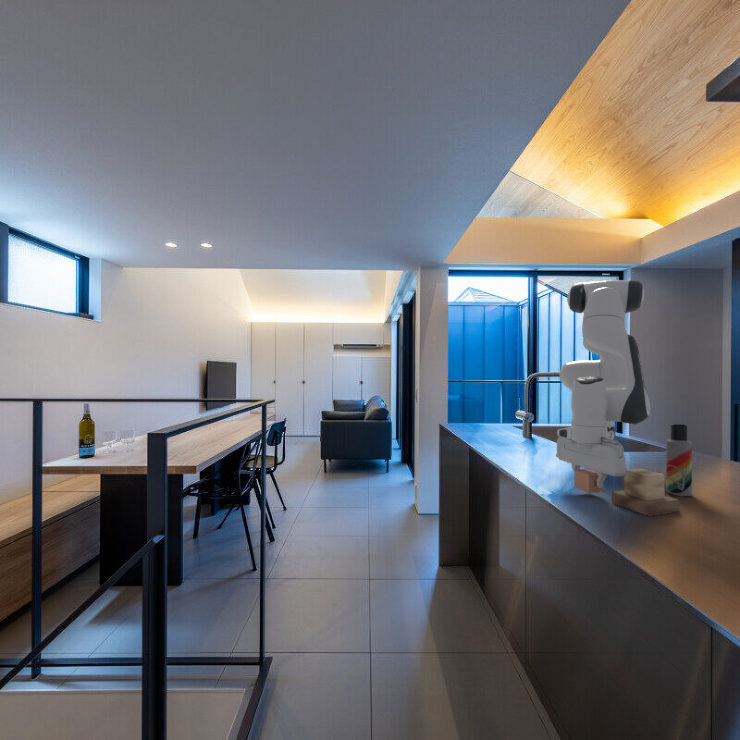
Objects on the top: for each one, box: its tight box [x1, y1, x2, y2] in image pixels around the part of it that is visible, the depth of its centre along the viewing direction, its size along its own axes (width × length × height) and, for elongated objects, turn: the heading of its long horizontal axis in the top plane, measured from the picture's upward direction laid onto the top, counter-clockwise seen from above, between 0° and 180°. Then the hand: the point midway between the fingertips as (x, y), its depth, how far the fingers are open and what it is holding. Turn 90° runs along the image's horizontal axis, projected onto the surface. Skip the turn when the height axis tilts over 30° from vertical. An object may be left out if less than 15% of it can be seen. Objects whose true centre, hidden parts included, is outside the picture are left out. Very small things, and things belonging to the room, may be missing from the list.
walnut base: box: [611, 489, 680, 517], centre depth 98 cm, size 10×10×3 cm
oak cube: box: [623, 468, 665, 500], centre depth 99 cm, size 6×6×6 cm
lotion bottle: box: [665, 423, 693, 497], centre depth 109 cm, size 6×6×20 cm
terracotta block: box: [573, 468, 604, 494], centre depth 108 cm, size 5×5×5 cm
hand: (588, 483), depth 108 cm, fingers closed on terracotta block, 5 cm apart
